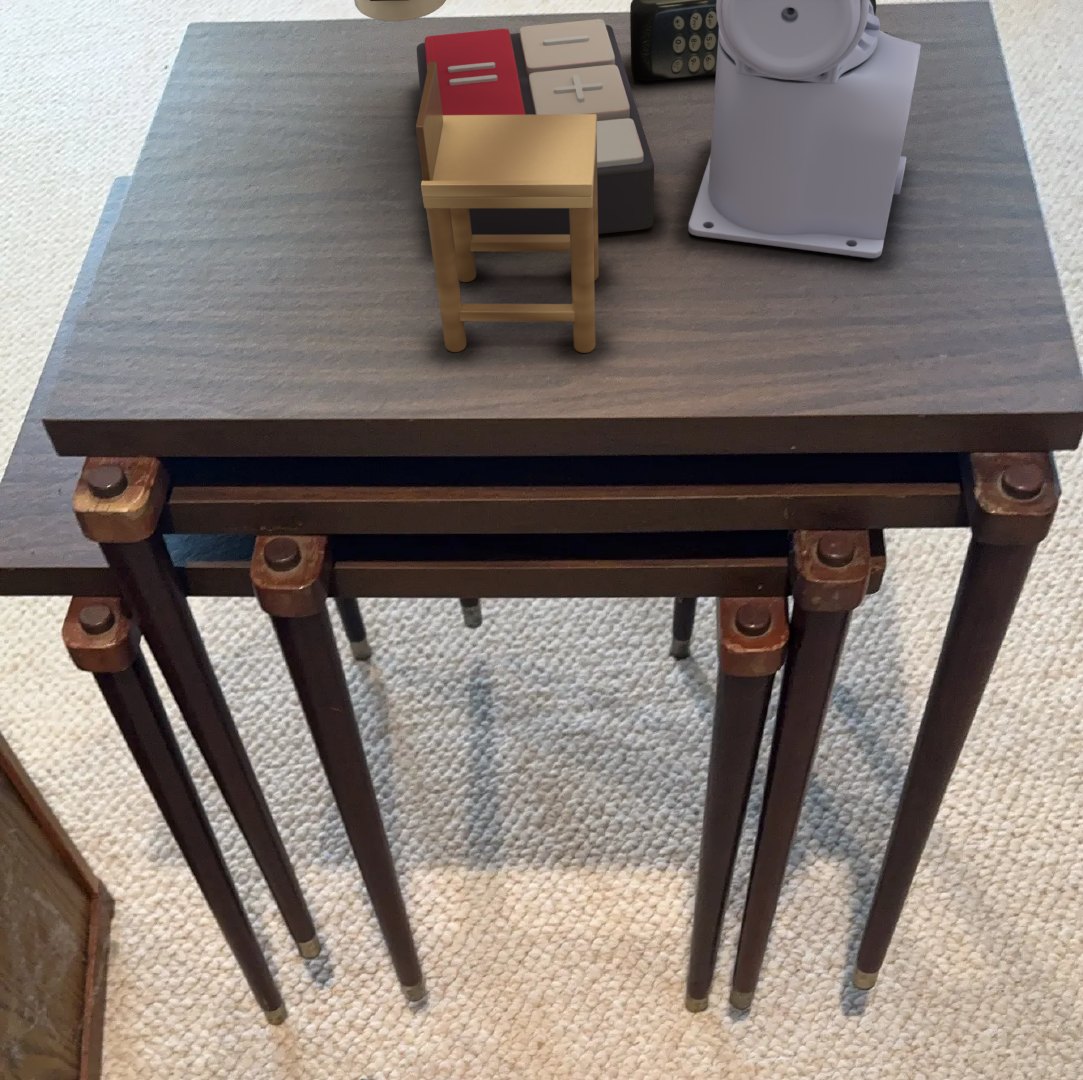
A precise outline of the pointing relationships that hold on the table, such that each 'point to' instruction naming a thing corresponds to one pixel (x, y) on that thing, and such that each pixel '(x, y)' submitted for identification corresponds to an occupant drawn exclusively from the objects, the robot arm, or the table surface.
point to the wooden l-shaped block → (503, 157)
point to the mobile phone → (675, 38)
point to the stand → (459, 244)
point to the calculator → (551, 111)
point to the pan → (397, 9)
